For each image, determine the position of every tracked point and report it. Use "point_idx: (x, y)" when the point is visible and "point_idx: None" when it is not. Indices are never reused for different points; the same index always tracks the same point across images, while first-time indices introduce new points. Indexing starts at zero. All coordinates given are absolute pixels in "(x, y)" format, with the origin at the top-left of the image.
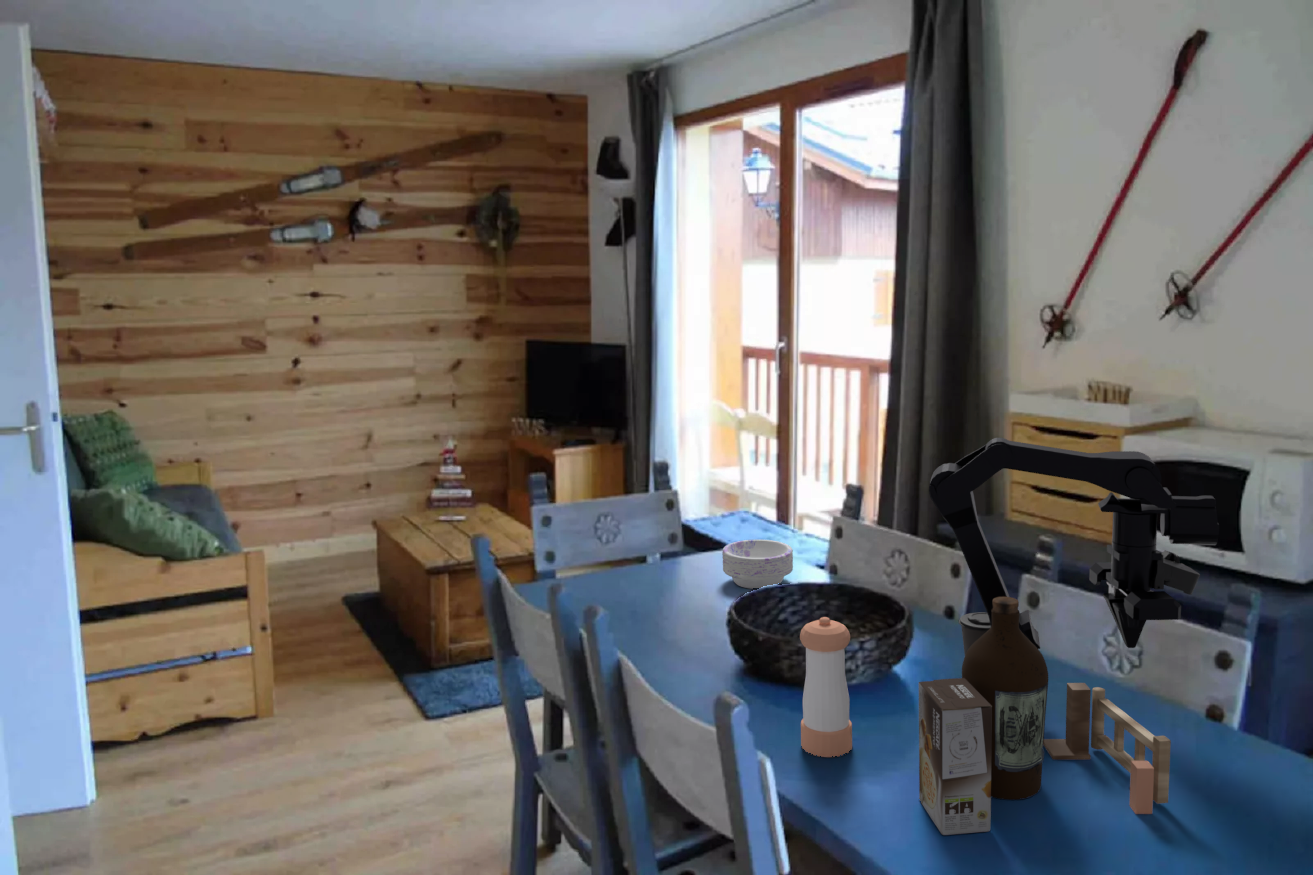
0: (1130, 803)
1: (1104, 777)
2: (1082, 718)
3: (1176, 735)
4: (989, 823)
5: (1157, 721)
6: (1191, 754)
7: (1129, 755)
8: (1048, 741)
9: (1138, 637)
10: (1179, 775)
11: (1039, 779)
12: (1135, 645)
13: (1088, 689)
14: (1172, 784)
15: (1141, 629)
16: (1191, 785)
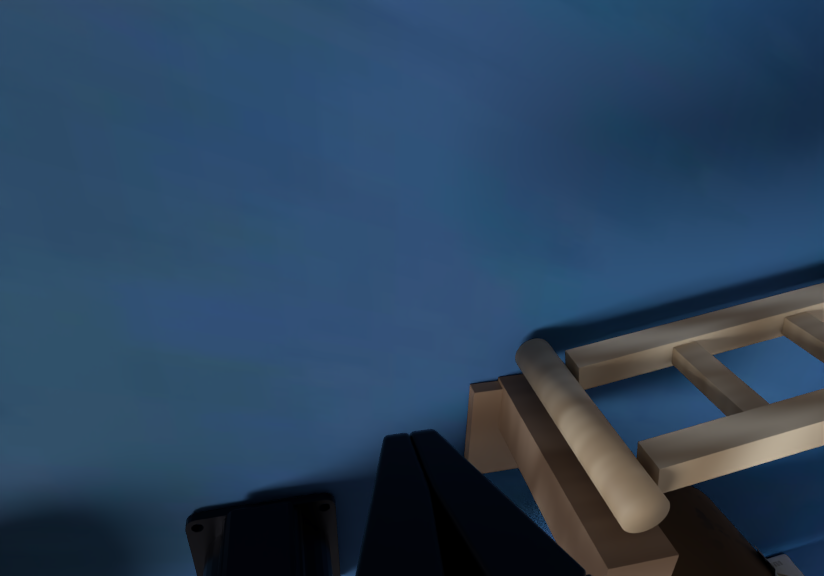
0: None
1: None
2: None
3: (429, 27)
4: (796, 567)
5: (280, 57)
6: (597, 40)
7: (722, 330)
8: (482, 463)
9: (502, 498)
10: (717, 151)
11: (718, 512)
12: (448, 444)
13: (674, 561)
14: (755, 193)
15: (577, 570)
16: (779, 138)
